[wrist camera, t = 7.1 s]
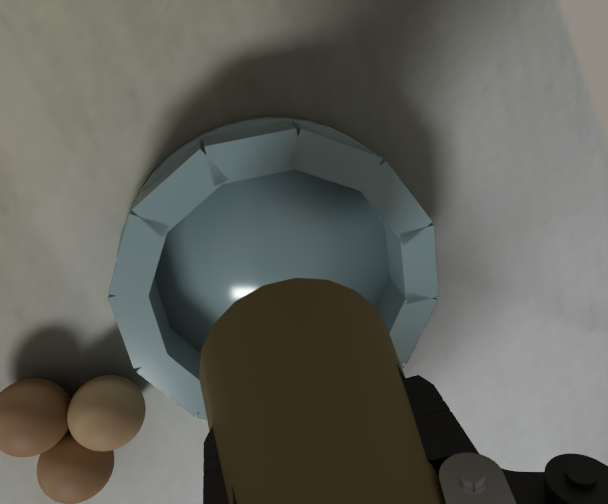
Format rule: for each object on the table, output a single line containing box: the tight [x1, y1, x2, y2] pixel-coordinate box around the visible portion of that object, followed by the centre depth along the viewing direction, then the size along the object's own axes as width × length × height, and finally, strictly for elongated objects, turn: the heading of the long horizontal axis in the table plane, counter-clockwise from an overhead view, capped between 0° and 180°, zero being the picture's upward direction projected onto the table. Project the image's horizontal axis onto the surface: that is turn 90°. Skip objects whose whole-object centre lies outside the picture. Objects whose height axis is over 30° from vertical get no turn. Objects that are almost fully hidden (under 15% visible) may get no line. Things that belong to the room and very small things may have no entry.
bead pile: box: [0, 375, 145, 504], centre depth 23 cm, size 6×6×3 cm
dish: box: [108, 116, 439, 420], centre depth 22 cm, size 13×13×3 cm
